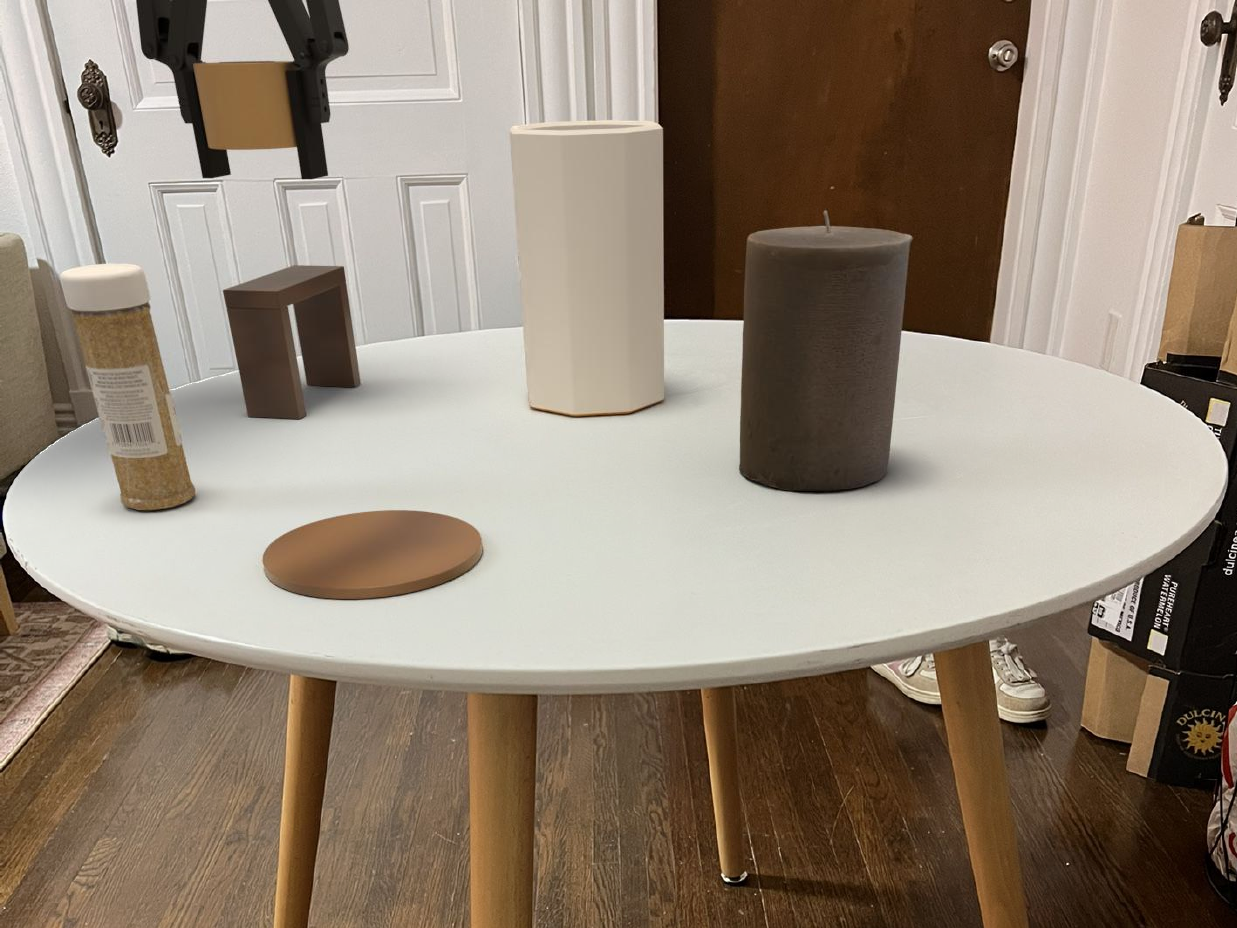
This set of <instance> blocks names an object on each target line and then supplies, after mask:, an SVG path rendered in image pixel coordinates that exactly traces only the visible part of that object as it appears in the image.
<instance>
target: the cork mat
mask: <svg viewBox="0 0 1237 928" xmlns="http://www.w3.org/2000/svg"><path fill="white" fill-rule="evenodd" d="M481 535H482V534H481V533H480V532H479V530H478V529H477V528H476V527H475V526H473V524H471V523H469V522H467V521H465V520H462V519H460V518H458V517H454V516H451V515H447V514H444V513H443V514H442V513H437V512H430V511H423V510H409V509H406V510H405V509H389V510H388V509H387V510H386V509H385V510H371V511H361V512H353V513H347V514H341V515H336V516H332V517H327V518H323V519H319V520H316V521H313V522H310V523H306V524H303V525H301V526H299V527H296V528H293V529H291V530H289V531H287V532H286V533H284V534H281V536H279V537H277V538H275V539H274V540H273V541H271V543H269V545H267V547H266V548H265V550H264V552H263V554H262V564H263V565H262V566H263V569H264V573H265V576H266V577H267V579H268V580H269V581H271V583H273V584H274V585H276V586H277V587H279V588H281V589H282V590H286V591H288V592H292V593H294V594H298V595H301V596H308V597H314V598H323V599H337V600H361V599H362V600H363V599H375V598H386V597H392V596H398V595H404V594H405V595H406V594H409V593H415V592H418V591H423V590H426V589H429V588H433V587H436V586H438V585H441V584H445V583H446V582H449V581H451V580H454V579H456V578H457V577H460V576H461V575H463V574H465V573H466V572H468V571H470V570H471V569H472V568H473V567H474V566H475V565H477V563H478V562H479V560H480V559H481V557H482V554H483V538H482V536H481Z"/></svg>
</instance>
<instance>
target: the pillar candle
mask: <svg viewBox="0 0 1237 928" xmlns="http://www.w3.org/2000/svg"><path fill="white" fill-rule="evenodd" d="M823 216H824V221H825V225H816V226H814V225H813V226H812V225H811V226H797V227H796V226H794V227H783V228H782V227H781V228H773V229H764V230H759V231H756V232H753V233H750V234H749V235H748V236H747V239H746V248H745V249H746V251H745V269H744V287H743V324H742V327H743V328H742V354H741V355H742V356H741V383H740V416H739V417H740V418H739V464H738V469H739V471H740V474H741V475H743V476H744V477H746V478H748V480H751V481H755V482H758V483H761V484H763V485H765V486H767V487H772V488H776V489H779V490H781V491H791V492H792V491H798V492H799V491H802V492H803V491H804V492H830V491H840V490H852V489H857V488H862V487H865V486H868V485H870V484H872V483H875V482H878V481H879V480H881V479H883V478H884V477H885V476H886V475H887V473H888V469H889V465H890V464H889V463H890V455H891V453H890V452H891V442H892V432H893V423H894V421H893V420H894V413H895V412H894V411H895V404H896V394H897V393H896V391H897V383H898V372H899V361H900V351H901V343H902V342H901V341H902V331H903V320H904V310H905V299H906V285H907V280H908V266H909V265H908V264H909V254H910V248H911V247H910V246H911V243H912V241H913V239H914V237H913V236H912V235H911V234H907V233H902V232H898V231H895V230H889V229H882V228H867V227H866V228H865V227H856V226H855V227H854V226H843V225H841V226H840V225H838V226H836V225H830V219H829V214H828V211H827V210H824V211H823Z"/></svg>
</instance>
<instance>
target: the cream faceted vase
mask: <svg viewBox="0 0 1237 928" xmlns="http://www.w3.org/2000/svg"><path fill="white" fill-rule="evenodd" d="M509 142H510V155H511V156H510V157H511V170H512V184H513V199H514V214H515V228H516V243H517V256H518V257H517V258H518V272H519V273H518V274H519V289H520V301H521V316H522V317H521V318H522V333H523V344H524V345H523V347H524V361H525V373H526V375H525V376H526V389H527V390H526V391H527V396H528V397H527V398H528V400H529V405H530V407H532V408H533V409H534V410H539V411H543V412H544V411H545V412H549V413H553V414H559V415H564V416H565V415H566V416H569V417H570V416H571V417H593V416H610V415H625V414H626V415H627V414H632V413H633V412H636V411H639V410H642V409H644V408H647V407H650V406H653V405H655V404H658V403H661V402H662V401H664V400H665V306H664V305H665V294H664V293H665V291H664V290H665V283H664V282H665V281H664V278H665V277H664V274H665V271H664V269H665V267H664V266H665V265H664V264H665V263H664V262H665V261H664V259H665V258H664V255H665V254H664V127H662V126H661V125H660V124H659V123H657V122H656V121H655V122H654V121H652V120H622V119H621V120H620V119H598V120H569V121H568V120H566V121H546V122H536V123H526V124H516V125H512V126H511V128H510V129H509Z"/></svg>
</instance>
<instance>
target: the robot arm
mask: <svg viewBox="0 0 1237 928" xmlns="http://www.w3.org/2000/svg"><path fill="white" fill-rule="evenodd" d="M267 2H268V4H269V6H270V8H271V11H272V13H273V15H274V18H275V20H276V22H277V24H278V27H279V29H280V31H281V33H282V36H283V39H284V40H285V43H286V44H287V47H288V50H289V52H290V54H291V56H292V59H293V60H292V61H293V62H290V63H291V65H292V66H293V67H294V68H295V69H299V70H288V71H286V78H287V85H288V91H289V98H290V105H291V112H292V118H293V125H294V132H295V138H296V145H297V147H296V150H297V158H298V165H299V171H300V178H301V180H315V179H320V178H324V177H328V176H329V171H328V163H327V156H326V149H325V143H324V142H325V141H324V135H323V128H322V124H326V123H330V121H331V108H330V99H329V91H328V84H327V83H328V82H327V78H326V70H327V67H328V65H329V64H330V63H331V62H334V61H335V60H337V59H339V58H340V57H346V56H347V54H348V53H349V50H350V47H349V40H348V36H347V32H346V28H345V23H344V19H343V13H342V10H341V5H340V0H305V3H306V6H305V3H304V1H303V0H267ZM135 3H136V4H135V5H136V13H137V19H138V20H137V22H138V30H139V31H138V33H139V40H140V49H141V53H142V54H143V56H144V57H145V58H146V59H148V60H154V61H157V62H159V63H161V64H163V65H165V66H166V67H168V68H169V70H170V72H171V73H172V75H173V76H172V77H173V80H174V86H175V91H176V96H177V101H178V105H179V111H180V117H181V118H182V120H183V122H184V124H186V125H187V124H189V125H190V124H192V129H193V134H194V135H193V136H194V140H195V145H196V146H195V147H196V151H197V155H198V161H199V167H200V172H201V178H202V179H215V178H221V177H225V176H226V177H227V176H231V175H232V171H231V167H230V162H229V161H230V160H229V156H228V150H222V149H211V148H209V147H208V142H207V137H206V131H205V126H204V121H203V115H202V110H201V105H200V99H199V94H198V88H197V83H196V78H195V72H194V67H193V64H195V63H207V62H206V61H204V60H202V55H203V44H204V35H205V26H206V18H207V17H206V16H207V7H208V0H135ZM306 7H307V8H306Z"/></svg>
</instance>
